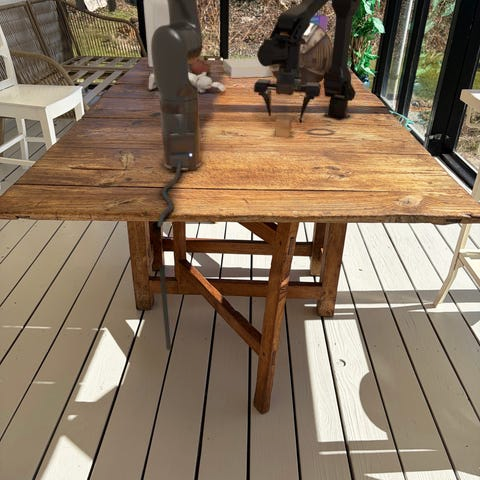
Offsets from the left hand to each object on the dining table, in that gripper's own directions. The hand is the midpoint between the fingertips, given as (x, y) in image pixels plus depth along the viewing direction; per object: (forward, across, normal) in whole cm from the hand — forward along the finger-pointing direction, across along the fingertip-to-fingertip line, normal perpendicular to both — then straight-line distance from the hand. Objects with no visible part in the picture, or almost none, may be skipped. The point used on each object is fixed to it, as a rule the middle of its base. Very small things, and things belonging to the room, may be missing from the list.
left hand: (97, 11), depth 126 cm
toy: (+33, +7, +53) cm, 63 cm away
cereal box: (+33, +46, +98) cm, 113 cm away
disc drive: (+33, +24, +92) cm, 101 cm away
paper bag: (+33, -18, +101) cm, 108 cm away
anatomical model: (+33, +2, +82) cm, 89 cm away
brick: (+33, +50, +12) cm, 61 cm away
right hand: (+28, +50, +12) cm, 59 cm away
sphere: (+33, +48, +69) cm, 90 cm away
